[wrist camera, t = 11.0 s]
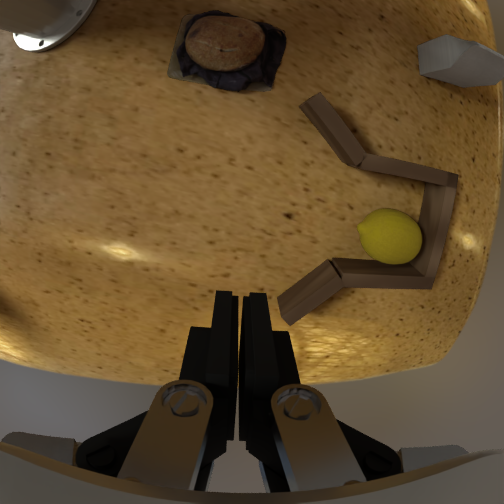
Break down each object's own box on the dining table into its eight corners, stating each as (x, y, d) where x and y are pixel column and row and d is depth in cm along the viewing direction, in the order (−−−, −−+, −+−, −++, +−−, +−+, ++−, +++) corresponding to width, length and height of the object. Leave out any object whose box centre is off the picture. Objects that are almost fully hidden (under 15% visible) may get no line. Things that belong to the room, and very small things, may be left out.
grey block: (463, 87, 25) (520, 83, 16) (419, 74, 25) (476, 62, 16) (460, 60, 24) (516, 49, 14) (417, 45, 24) (471, 25, 14)
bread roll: (165, 82, 26) (155, 76, 22) (186, 11, 23) (179, -3, 19) (271, 101, 27) (274, 96, 23) (289, 28, 24) (295, 15, 20)
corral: (299, 96, 26) (308, 90, 22) (442, 129, 27) (463, 131, 23) (275, 305, 34) (279, 325, 30) (405, 307, 35) (418, 324, 31)
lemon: (352, 200, 31) (410, 220, 32) (340, 251, 31) (400, 267, 32) (376, 197, 25) (439, 221, 26) (363, 258, 26) (428, 275, 27)
